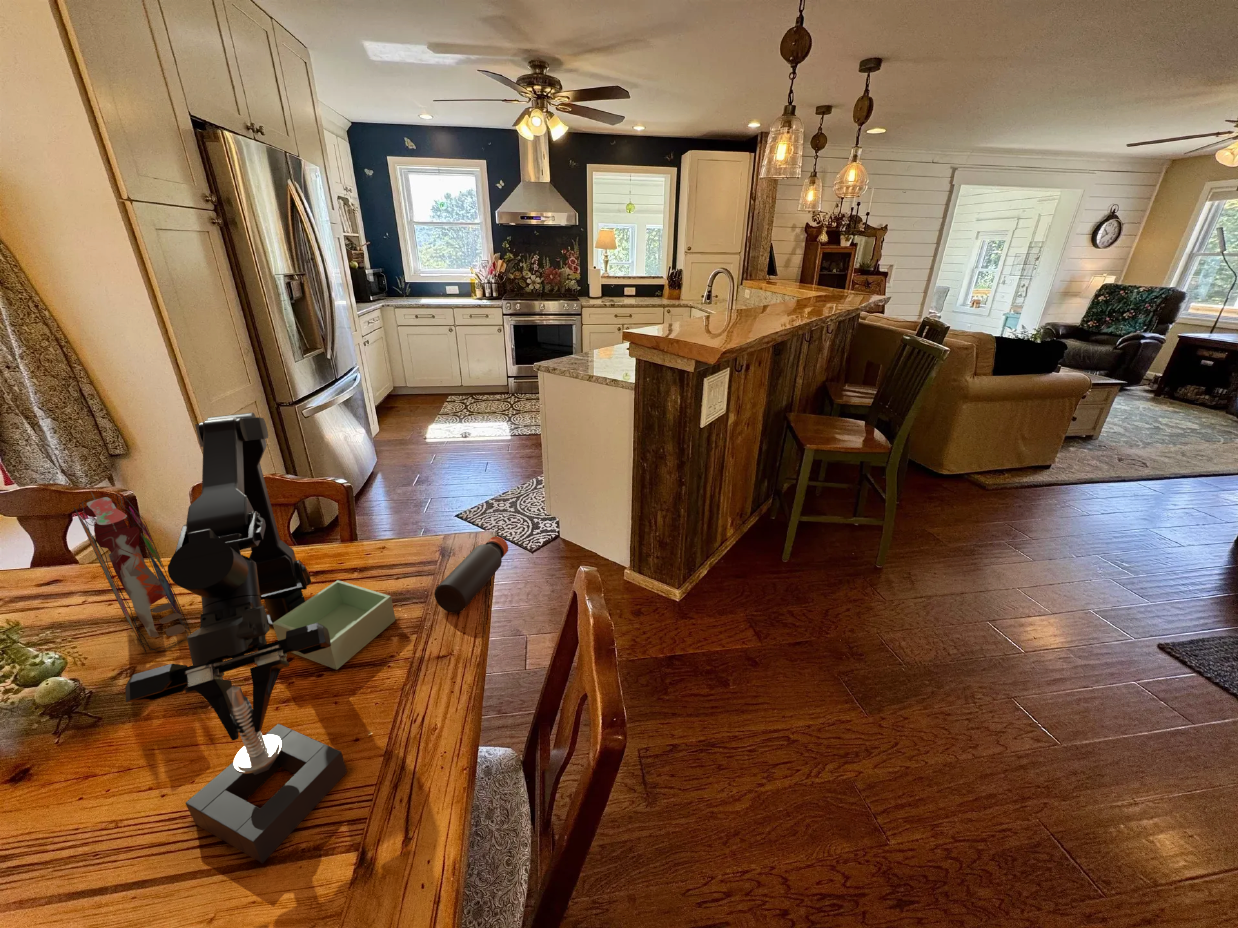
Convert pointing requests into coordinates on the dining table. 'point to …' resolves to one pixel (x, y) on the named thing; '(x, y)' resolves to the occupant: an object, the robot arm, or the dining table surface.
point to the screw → (251, 737)
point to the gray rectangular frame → (272, 823)
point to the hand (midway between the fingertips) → (246, 735)
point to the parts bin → (340, 620)
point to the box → (131, 565)
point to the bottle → (470, 575)
